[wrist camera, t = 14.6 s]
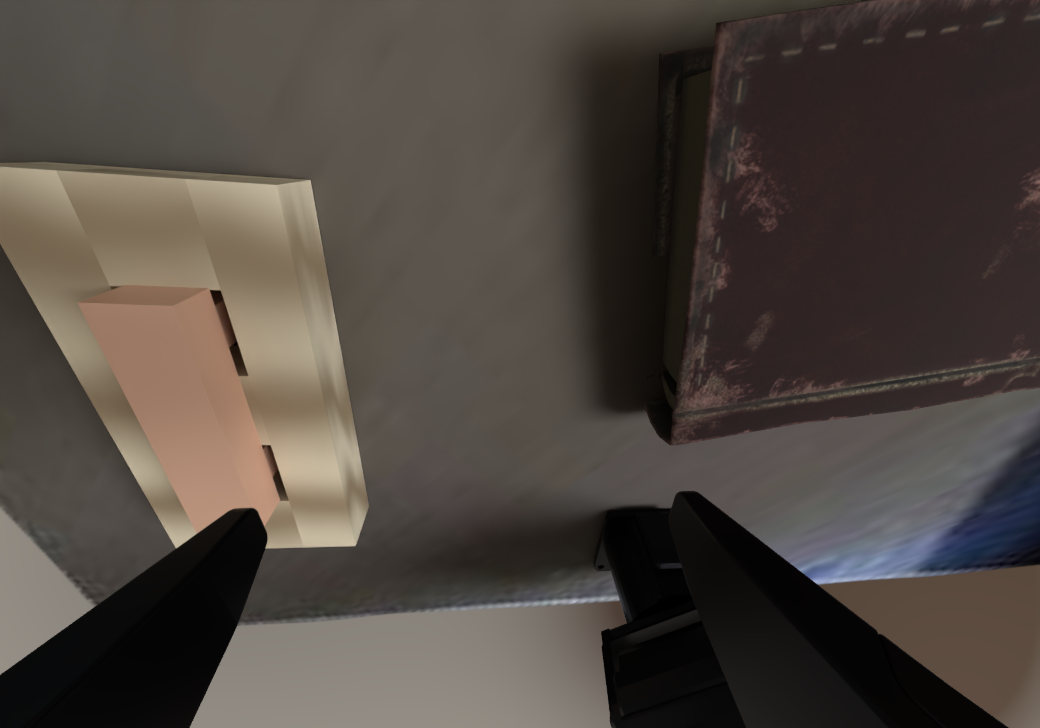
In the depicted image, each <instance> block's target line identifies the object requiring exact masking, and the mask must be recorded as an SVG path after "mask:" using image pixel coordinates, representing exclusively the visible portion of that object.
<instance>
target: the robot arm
mask: <svg viewBox="0 0 1040 728" xmlns="http://www.w3.org/2000/svg"><path fill="white" fill-rule="evenodd" d="M267 540H268V536H267V531H266V529H265V527H264V524H263V522H262V520H261V518H260V515H259V513H258V511H257V510H256V509H255V508H235V509H232V510H229V511H228V512H226V513H225V514H224V515H222V516H221V517H219V518H218V519H217V520H215V521H214V522H212V523H211V524H210V525H208V526H207V527H205V528H204V529H203V530H201V531H200V532H198V533H197V534H196V535H194V536H193V537H191V538H190V539H189V540H187V541H186V542H185V543H183V544H182V545H180V546H179V547H178V548H176V549H175V550H173V551H172V552H171V553H169V554H168V555H166V556H165V557H164V558H162V559H161V560H159V561H158V562H157V563H155V564H154V565H153V566H151V567H150V568H148V569H147V570H146V571H144V572H143V573H141V574H140V575H139V576H137V577H136V578H134V579H133V580H132V581H130V582H129V583H127V584H126V585H125V586H123V587H122V588H121V589H119V590H118V591H116V592H115V593H114V594H112V595H111V596H109V597H108V598H107V599H105V600H104V601H102V602H101V603H100V604H98V605H97V606H95V607H94V608H93V609H91V610H90V611H88V612H87V613H86V614H84V615H83V616H82V617H80V618H79V619H77V620H76V621H75V622H73V623H72V624H70V625H69V626H68V627H66V628H65V629H64V630H62V631H61V632H59V633H58V634H57V635H55V636H54V637H52V638H51V639H50V640H48V641H47V642H45V643H44V644H43V645H41V646H40V647H38V648H37V649H36V650H34V651H33V652H31V653H30V654H29V655H27V656H26V657H24V658H23V659H22V660H20V661H19V662H17V663H16V664H15V665H13V666H12V667H11V668H9V669H8V670H7V671H5V672H4V673H2V674H1V675H0V728H190V726H191V723H192V721H193V719H194V717H195V715H196V713H197V711H198V708H199V706H200V704H201V702H202V700H203V698H204V696H205V694H206V691H207V689H208V687H209V685H210V683H211V681H212V679H213V677H214V674H215V672H216V670H217V668H218V666H219V663H220V662H221V659H222V657H223V655H224V653H225V651H226V649H227V647H228V645H229V642H230V640H231V638H232V636H233V634H234V631H235V629H236V627H237V625H238V622H239V620H240V617H241V614H242V612H243V609H244V606H245V604H246V601H247V598H248V595H249V593H250V590H251V587H252V584H253V581H254V579H255V576H256V573H257V570H258V568H259V565H260V562H261V559H262V556H263V554H264V551H265V548H266V545H267ZM594 567H595V570H597V571H611V572H612V576H613V579H614V582H615V586H616V589H617V592H618V596H619V599H620V602H621V606H622V609H623V612H624V615H625V619H626V622H627V624H624V625H621V626H619V627H617V628H614V629H611V630H610V629H606V630H604V631H602V632H601V635H602V642H603V645H602V653H603V662H604V669H605V678H606V685H607V694H608V702H609V710H610V724H611V727H612V728H1008V727H1007V726H1005V725H1004V724H1003V723H1001V722H1000V721H998V720H997V719H995V718H994V717H993V716H991V715H990V714H989V713H987V712H986V711H984V710H983V709H982V708H980V707H979V706H977V705H976V704H975V703H973V702H972V701H970V700H969V699H967V698H966V697H965V696H963V695H962V694H961V693H959V692H958V691H956V690H955V689H954V688H952V687H951V686H949V685H948V684H947V683H945V682H944V681H943V680H941V679H940V678H939V677H937V676H936V675H935V674H933V673H932V672H931V671H930V670H928V669H927V668H925V667H924V666H923V665H922V664H920V663H919V662H917V661H916V660H915V659H913V658H912V657H911V656H910V655H908V654H907V653H906V652H904V651H903V650H902V649H900V648H899V647H898V646H896V645H895V644H894V643H893V642H891V641H890V640H889V639H887V638H886V637H885V636H883V635H881V634H878V632H877V631H876V630H875V629H874V628H873V627H872V626H870V625H869V624H868V623H867V622H865V621H864V620H862V619H861V618H860V617H859V616H857V615H856V614H855V613H854V612H852V611H851V610H850V609H848V608H847V607H846V606H844V605H843V604H842V603H841V602H839V601H838V600H837V599H835V598H834V597H833V596H832V595H830V594H829V593H827V592H826V591H825V590H824V589H822V588H821V587H820V586H819V585H817V584H816V583H815V582H813V581H812V580H811V579H810V578H808V577H807V576H806V575H804V574H803V573H802V572H800V571H799V570H798V569H797V568H795V567H794V566H793V565H791V564H790V563H789V562H788V561H786V560H785V559H784V558H782V557H781V556H780V555H778V554H777V553H776V552H775V551H773V550H772V549H771V548H769V547H768V546H767V545H766V544H764V543H763V542H762V541H760V540H759V539H758V538H756V537H755V536H754V535H753V534H751V533H750V532H749V531H747V530H746V529H745V528H744V527H742V526H741V525H740V524H738V523H737V522H736V521H734V520H733V519H732V518H731V517H729V516H728V515H727V514H725V513H724V512H723V511H721V510H720V509H719V508H718V507H716V506H715V505H714V504H712V503H711V502H710V501H709V500H707V499H706V498H705V497H703V496H702V495H701V494H699V493H698V492H695V491H681V492H678V493H677V494H676V496H675V498H674V502H673V505H672V508H671V510H661V511H613V512H609V513H608V514H607V515H606V517H605V521H604V524H603V528H602V532H601V536H600V540H599V544H598V547H597V551H596V555H595V559H594Z"/></svg>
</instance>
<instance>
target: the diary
mask: <svg viewBox="0 0 1040 728" xmlns="http://www.w3.org/2000/svg"><path fill="white" fill-rule="evenodd" d="M653 256H670V257H669V272H668V287H667V302H666V316H665V331H664V346H663V362H664V364H665V366H666V368H667V370H668V372H662V374H658V375H652V376H647V378H649V377H655V376H661V380H662V383H663V387H664V390H665V394H666V397H667V398H666V399H659V400H653V401H647V402H645V404H644V406H645V409H646V412H647V414H648V417H649V420H650V423H651V424H652V426H653V428H654V429H655V431H656V433H657V434H658V436H659V437H660V438H662V439H663V440H664V441H665V442H666V443H668V444H669V445H679V444H686V443H692V442H698V441H703V440H709V439H714V438H720V437H726V436H731V435H737V434H743V433H748V432H754V431H759V430H765V429H771V428H776V427H782V426H788V425H793V424H800V423H808V422H816V421H825V420H833V419H841V418H849V417H857V416H865V415H873V414H881V413H889V412H897V411H905V410H912V409H918V408H923V407H929V406H934V405H940V404H945V403H951V402H956V401H962V400H967V399H973V398H978V397H984V396H989V395H995V394H1000V393H1006V392H1011V391H1018V390H1026V389H1035V388H1040V0H861V2H856V3H849V4H842V5H835V6H828V7H822V8H815V9H808V10H801V11H794V12H788V13H781V14H774V15H767V16H760V17H754V18H747V19H740V20H733V21H726V22H719V23H717V24H716V33H715V42H714V47H707V48H699V49H691V50H682V51H675V52H669V53H662V54H660V59H659V86H658V113H657V140H656V167H655V194H654V221H653V248H652V257H653Z"/></svg>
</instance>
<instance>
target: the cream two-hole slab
mask: <svg viewBox="0 0 1040 728" xmlns="http://www.w3.org/2000/svg"><path fill="white" fill-rule="evenodd" d="M0 245H1V246H2V248H3V250H4V252H5V253H6V255H7V257H8V258H9V260H10V262H11V264H12V265H13V267H14V269H15V271H16V272H17V274H18V276H19V277H20V279H21V281H22V283H23V284H24V286H25V288H26V290H27V291H28V293H29V295H30V296H31V298H32V300H33V302H34V303H35V305H36V307H37V309H38V310H39V312H40V314H41V315H42V317H43V319H44V321H45V322H46V324H47V326H48V328H49V329H50V331H51V333H52V334H53V336H54V338H55V340H56V341H57V343H58V345H59V347H60V348H61V350H62V352H63V354H64V355H65V357H66V359H67V360H68V362H69V364H70V366H71V367H72V369H73V371H74V373H75V374H76V376H77V378H78V379H79V381H80V383H81V385H82V386H83V388H84V390H85V392H86V393H87V395H88V397H89V398H90V400H91V402H92V404H93V405H94V407H95V409H96V411H97V412H98V414H99V416H100V417H101V419H102V421H103V423H104V424H105V426H106V428H107V430H108V431H109V433H110V435H111V436H112V438H113V440H114V442H115V443H116V445H117V447H118V449H119V450H120V452H121V454H122V455H123V457H124V459H125V461H126V462H127V464H128V466H129V468H130V469H131V471H132V473H133V475H134V476H135V478H136V480H137V481H138V483H139V485H140V487H141V488H142V490H143V492H144V494H145V495H146V497H147V499H148V500H149V502H150V504H151V506H152V507H153V509H154V511H155V513H156V514H157V516H158V518H159V519H160V521H161V523H162V525H163V526H164V528H165V530H166V532H167V533H168V535H169V537H170V538H171V540H172V542H173V544H174V545H175V547H176V548H178V547H179V546H180V545H182V544H183V543H185V542H186V541H187V540H189V539H190V538H191V537H193V536H194V535H196V534H197V533H196V531H195V529H194V527H193V525H192V523H191V521H190V519H189V517H188V516H187V514H186V512H185V510H184V508H183V506H182V504H181V502H180V500H179V498H178V496H177V494H176V492H175V490H174V489H173V487H172V485H171V483H170V481H169V479H168V477H167V475H166V473H165V471H164V469H163V467H162V465H161V463H160V462H159V460H158V458H157V456H156V454H155V452H154V450H153V448H152V446H151V444H150V442H149V440H148V438H147V436H146V435H145V433H144V431H143V429H142V427H141V425H140V423H139V421H138V419H137V417H136V415H135V413H134V411H133V409H132V408H131V406H130V404H129V402H128V400H127V398H126V396H125V394H124V392H123V390H122V388H121V386H120V384H119V382H118V381H117V379H116V377H115V375H114V373H113V371H112V369H111V367H110V365H109V363H108V361H107V359H106V357H105V355H104V354H103V352H102V350H101V348H100V346H99V344H98V342H97V340H96V338H95V336H94V334H93V332H92V330H91V328H90V327H89V325H88V323H87V321H86V319H85V317H84V315H83V313H82V311H81V309H80V307H79V305H78V303H77V302H80V301H83V300H86V299H88V298H91V297H94V296H97V295H99V294H102V293H105V292H108V291H110V290H113V289H116V288H119V287H121V286H124V285H140V286H164V287H189V288H209V290H221V292H222V296H223V299H224V302H225V305H226V308H227V311H228V314H229V317H230V320H231V323H232V327H233V330H234V333H235V336H236V339H237V342H238V345H239V346H230V347H229V349H230V352H231V355H232V358H233V361H234V364H235V367H236V370H237V373H238V376H239V379H240V382H241V385H242V388H243V391H244V394H245V397H246V400H247V403H248V406H249V409H250V412H251V415H252V418H253V421H254V424H255V427H256V430H257V433H258V436H259V439H260V442H261V445H271V447H272V450H273V453H274V456H275V460H276V463H277V466H278V470H277V471H276V473H275V474H274V476H273V480H274V483H275V486H276V489H277V492H278V495H279V498H280V501H279V503H278V505H277V506H276V508H275V510H274V511H273V513H272V515H271V516H270V518H269V520H268V522H267V523H266V525H265V529H266V531H267V536H268V540H267V545H266V548H300V547H337V546H356V543H357V540H358V537H359V534H360V531H361V528H362V525H363V522H364V519H365V516H366V513H367V510H368V507H369V504H368V498H367V493H366V487H365V482H364V476H363V470H362V465H361V459H360V454H359V448H358V442H357V437H356V431H355V426H354V420H353V415H352V409H351V403H350V398H349V392H348V387H347V381H346V375H345V370H344V364H343V359H342V353H341V348H340V342H339V336H338V331H337V325H336V320H335V314H334V309H333V303H332V297H331V292H330V286H329V281H328V275H327V269H326V264H325V258H324V253H323V247H322V242H321V236H320V230H319V225H318V219H317V214H316V208H315V202H314V197H313V191H312V186H311V180H303V179H288V178H274V177H259V176H244V175H230V174H215V173H200V172H185V171H171V170H156V169H141V168H127V167H112V166H97V165H83V164H68V163H53V162H20V163H0Z"/></svg>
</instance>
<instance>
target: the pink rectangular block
mask: <svg viewBox="0 0 1040 728" xmlns="http://www.w3.org/2000/svg"><path fill="white" fill-rule="evenodd" d="M77 303H78V305H79V307H80V309H81V311H82V313H83V315H84V317H85V319H86V321H87V323H88V325H89V327H90V328H91V330H92V332H93V334H94V336H95V338H96V340H97V342H98V344H99V346H100V348H101V350H102V352H103V354H104V355H105V357H106V359H107V361H108V363H109V365H110V367H111V369H112V371H113V373H114V375H115V377H116V379H117V381H118V382H119V384H120V386H121V388H122V390H123V392H124V394H125V396H126V398H127V400H128V402H129V404H130V406H131V408H132V409H133V411H134V413H135V415H136V417H137V419H138V421H139V423H140V425H141V427H142V429H143V431H144V433H145V435H146V436H147V438H148V440H149V442H150V444H151V446H152V448H153V450H154V452H155V454H156V456H157V458H158V460H159V462H160V463H161V465H162V467H163V469H164V471H165V473H166V475H167V477H168V479H169V481H170V483H171V485H172V487H173V489H174V490H175V492H176V494H177V496H178V498H179V500H180V502H181V504H182V506H183V508H184V510H185V512H186V514H187V516H188V517H189V519H190V521H191V523H192V525H193V527H194V529H195V531H196V533H198V532H200V531H201V530H203V529H204V528H205V527H207V526H208V525H210V524H211V523H212V522H214V521H215V520H217V519H218V518H219V517H221V516H222V515H224V514H225V513H226V512H228V511H229V510H232V509H235V508H255V509H256V510H257V511H258V513H259V515H260V518H261V520H262V522H263V524H264V527H265V525H266V523H267V522H268V520H269V518H270V516H271V515H272V513H273V511H274V510H275V508H276V506H277V505H278V503H279V501H280V498H279V495H278V492H277V489H276V486H275V483H274V480H273V476H274V474H275V473H276V471H277V470H278V466H277V463H276V460H275V456H274V453H273V450H272V447H271V445H261V442H260V439H259V436H258V433H257V430H256V427H255V424H254V421H253V418H252V415H251V412H250V409H249V406H248V403H247V400H246V397H245V394H244V391H243V388H242V385H241V382H240V379H239V376H238V373H237V370H236V367H235V364H234V361H233V358H232V355H231V352H230V349H229V347H230V346H232V345H233V344H234V343H236V342H237V339H236V336H235V333H234V330H233V327H232V323H231V320H230V317H229V314H228V311H227V308H226V305H225V302H224V299H223V296H222V292H221V290H209V288H189V287H164V286H140V285H124V286H121V287H119V288H116V289H113V290H110V291H108V292H105V293H102V294H99V295H97V296H94V297H91V298H88V299H86V300H83V301H80V302H77Z"/></svg>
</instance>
